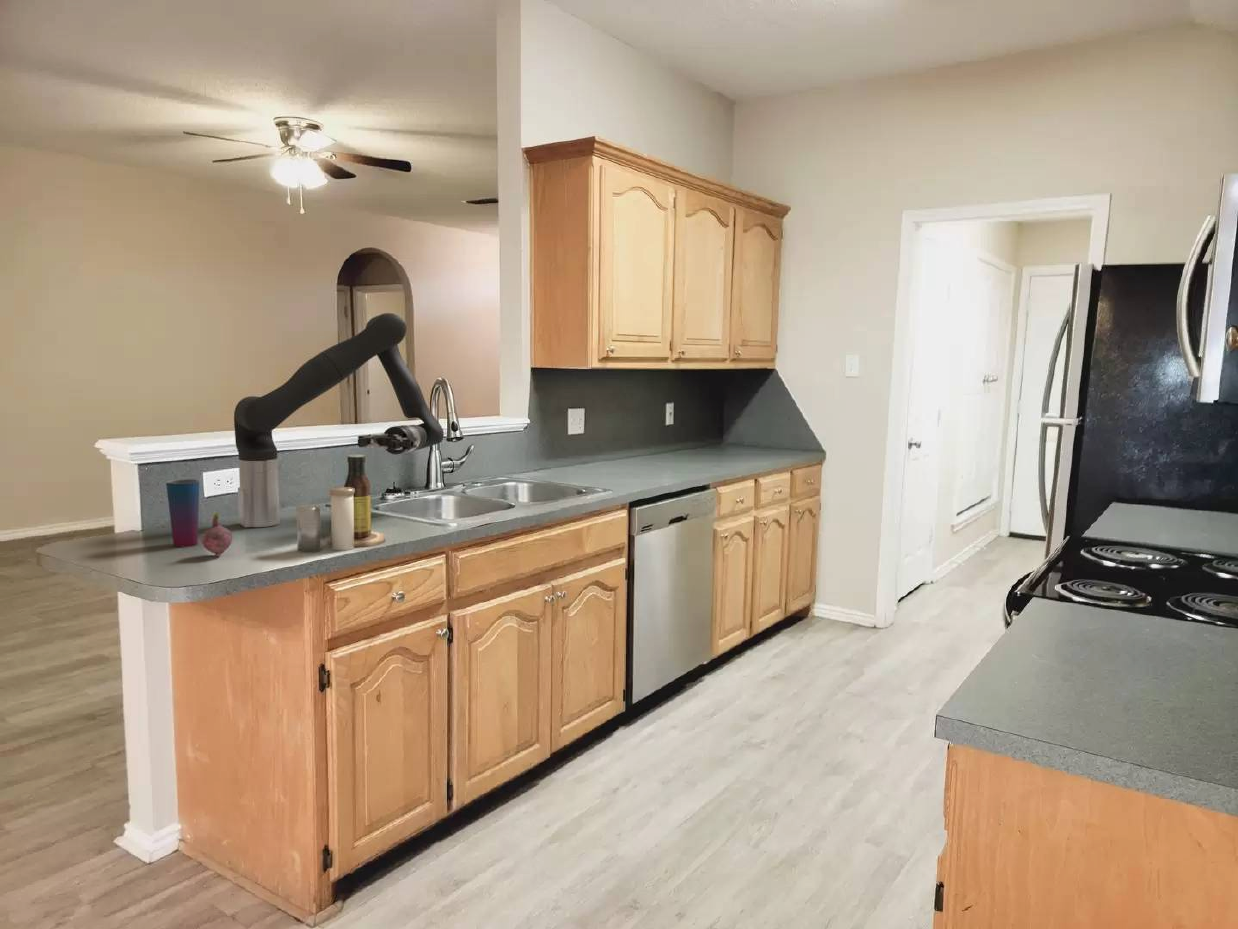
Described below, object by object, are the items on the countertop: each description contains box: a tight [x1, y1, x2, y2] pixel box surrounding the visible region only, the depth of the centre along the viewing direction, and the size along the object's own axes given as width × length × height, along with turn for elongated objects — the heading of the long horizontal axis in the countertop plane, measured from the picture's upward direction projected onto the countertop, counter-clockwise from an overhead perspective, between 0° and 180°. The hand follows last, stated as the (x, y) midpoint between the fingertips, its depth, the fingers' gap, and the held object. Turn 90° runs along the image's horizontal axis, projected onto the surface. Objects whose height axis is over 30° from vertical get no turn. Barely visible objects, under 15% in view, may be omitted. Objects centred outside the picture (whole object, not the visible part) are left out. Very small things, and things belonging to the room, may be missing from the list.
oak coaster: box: [328, 531, 387, 548], centre depth 203 cm, size 13×13×1 cm
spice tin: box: [296, 504, 322, 553], centre depth 192 cm, size 5×5×10 cm
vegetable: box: [201, 511, 234, 556], centre depth 185 cm, size 6×6×10 cm
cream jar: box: [328, 486, 355, 552], centre depth 194 cm, size 6×6×14 cm
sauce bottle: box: [343, 454, 372, 538], centre depth 201 cm, size 7×6×20 cm
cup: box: [165, 478, 200, 548], centre depth 194 cm, size 7×7×15 cm
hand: (375, 444), depth 210 cm, fingers open, 8 cm apart
